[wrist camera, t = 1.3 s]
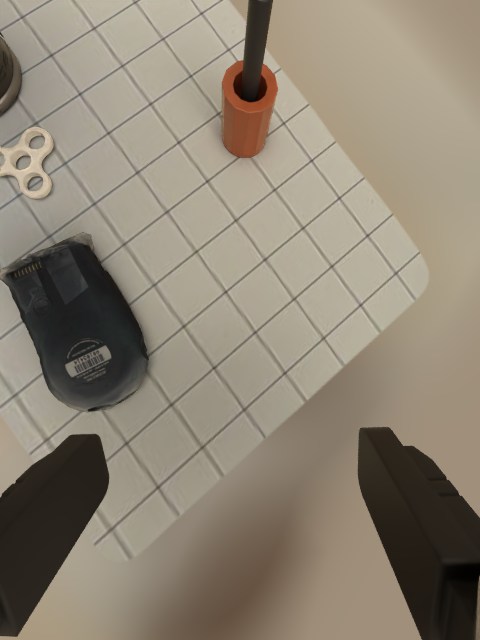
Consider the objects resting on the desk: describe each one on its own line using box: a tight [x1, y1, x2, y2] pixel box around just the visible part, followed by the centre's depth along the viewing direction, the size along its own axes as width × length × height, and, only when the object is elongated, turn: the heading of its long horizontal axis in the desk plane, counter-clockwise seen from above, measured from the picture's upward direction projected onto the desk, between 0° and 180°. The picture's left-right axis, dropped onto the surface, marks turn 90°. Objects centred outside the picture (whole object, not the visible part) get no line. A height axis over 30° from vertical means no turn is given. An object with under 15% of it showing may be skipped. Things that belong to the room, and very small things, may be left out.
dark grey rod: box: [240, 0, 273, 103], centre depth 23 cm, size 2×2×12 cm
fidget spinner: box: [0, 127, 53, 199], centre depth 27 cm, size 7×6×1 cm
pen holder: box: [221, 60, 278, 158], centre depth 26 cm, size 5×5×6 cm
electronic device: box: [0, 232, 149, 412], centre depth 25 cm, size 9×6×15 cm
